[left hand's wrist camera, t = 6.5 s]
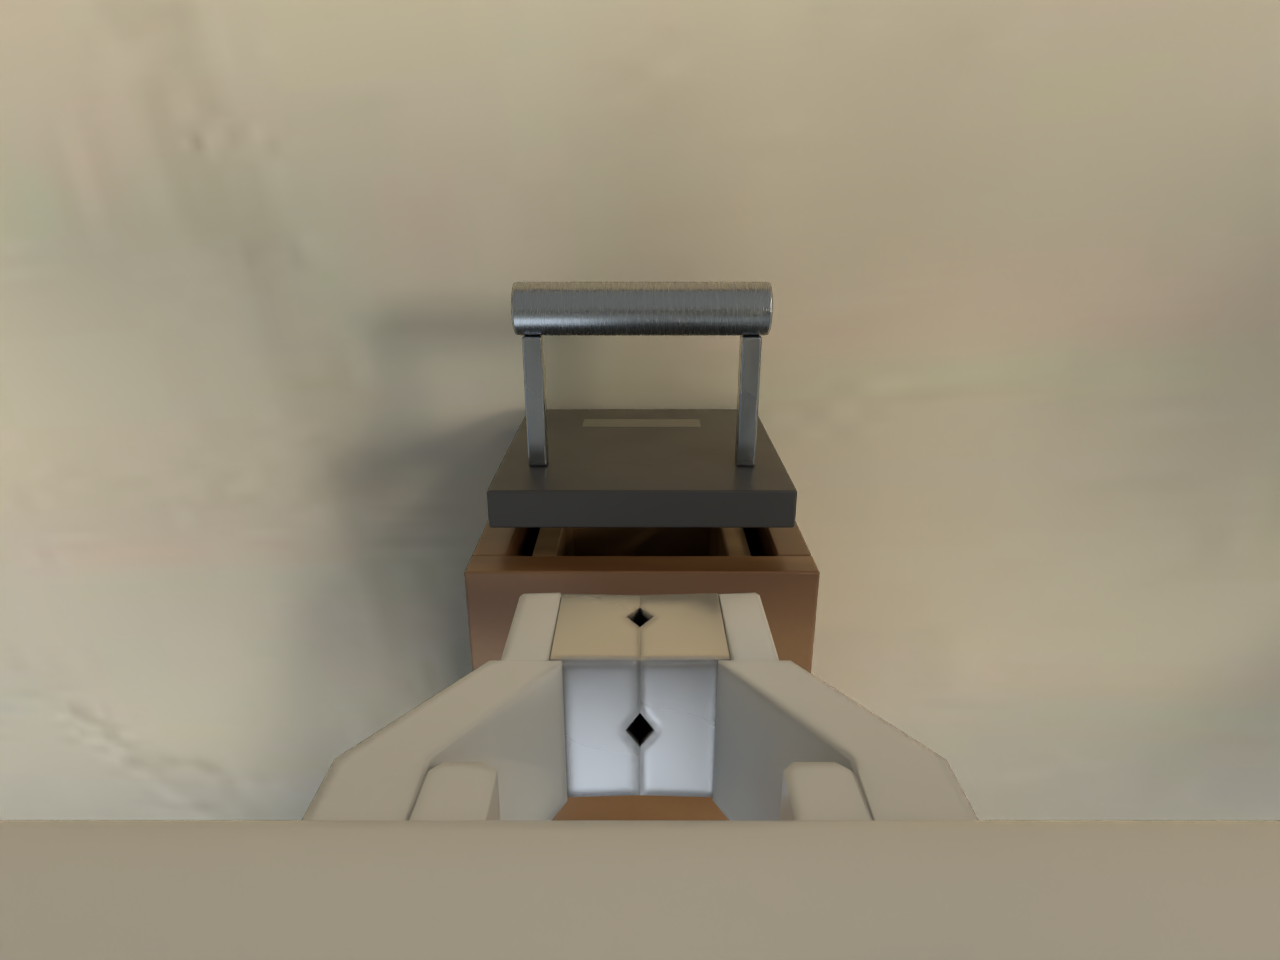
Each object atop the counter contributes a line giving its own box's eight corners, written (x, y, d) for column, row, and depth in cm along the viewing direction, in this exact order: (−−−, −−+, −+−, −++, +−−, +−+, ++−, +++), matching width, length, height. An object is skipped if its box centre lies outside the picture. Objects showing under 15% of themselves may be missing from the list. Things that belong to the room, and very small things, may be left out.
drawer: (520, 262, 30) (471, 292, 21) (762, 262, 30) (812, 292, 21) (548, 808, 39) (521, 984, 30) (734, 808, 39) (761, 985, 30)
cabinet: (519, 450, 33) (463, 571, 23) (763, 450, 33) (820, 571, 23) (541, 847, 41) (506, 1076, 30) (741, 847, 41) (776, 1076, 30)
